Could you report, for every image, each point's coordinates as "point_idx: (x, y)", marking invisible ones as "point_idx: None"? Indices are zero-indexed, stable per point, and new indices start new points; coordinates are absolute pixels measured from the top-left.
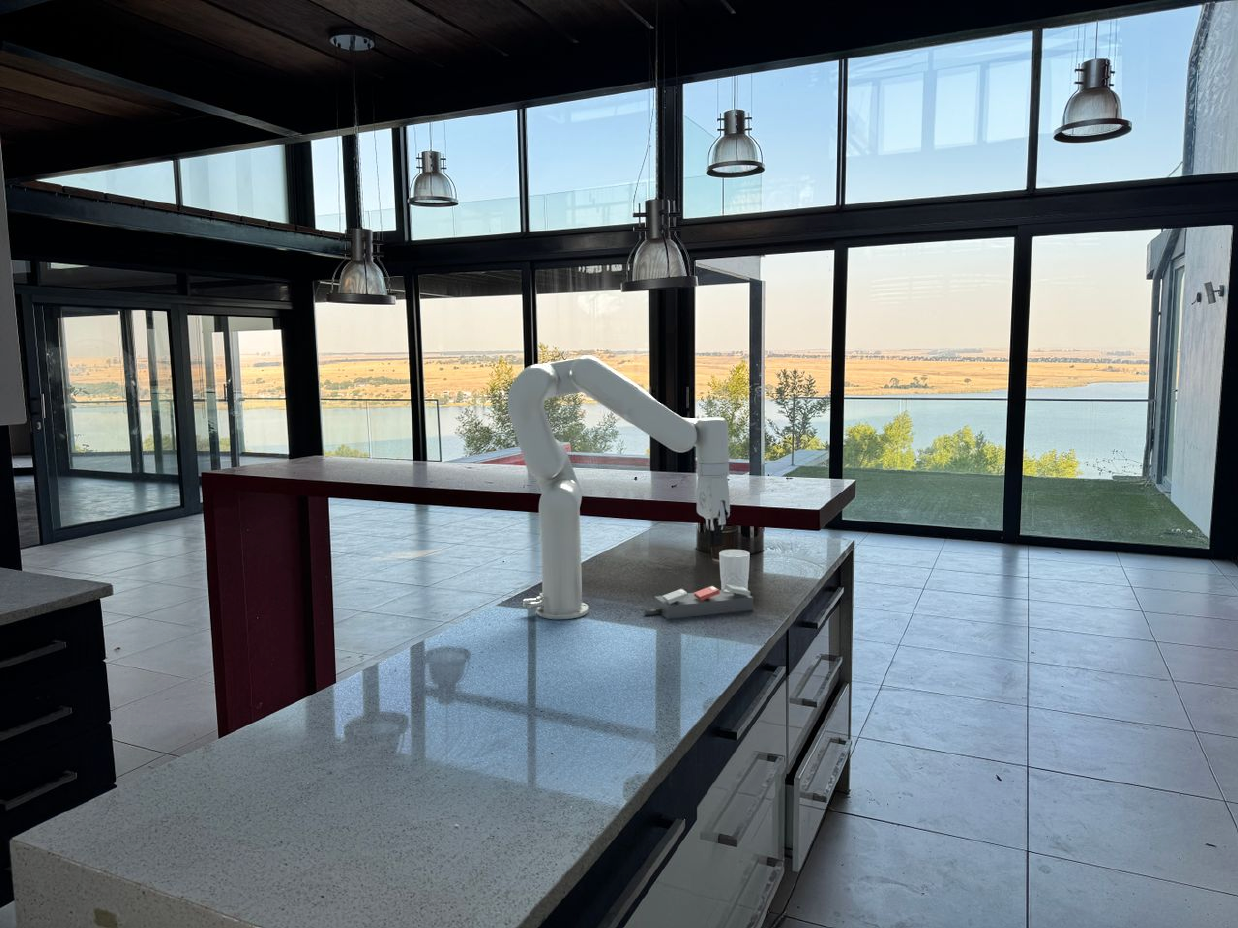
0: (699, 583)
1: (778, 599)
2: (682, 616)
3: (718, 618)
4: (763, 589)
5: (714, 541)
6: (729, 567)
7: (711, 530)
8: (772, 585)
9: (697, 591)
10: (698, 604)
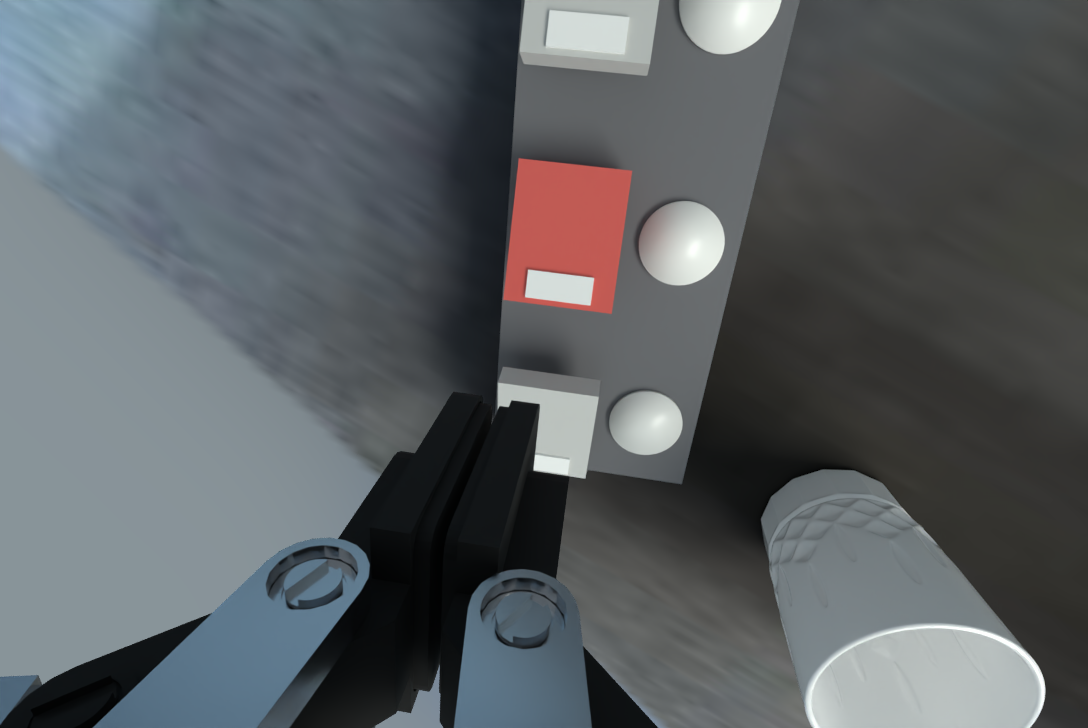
0: (1076, 453)
1: (590, 578)
2: None
3: (440, 209)
4: (754, 614)
5: (393, 459)
6: (835, 574)
7: (334, 544)
8: (784, 669)
9: (623, 197)
10: (514, 136)
